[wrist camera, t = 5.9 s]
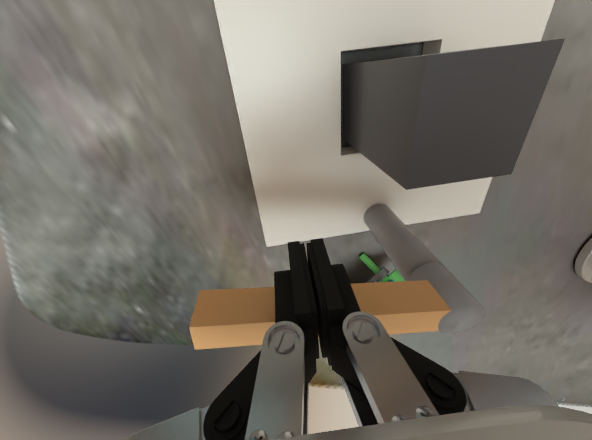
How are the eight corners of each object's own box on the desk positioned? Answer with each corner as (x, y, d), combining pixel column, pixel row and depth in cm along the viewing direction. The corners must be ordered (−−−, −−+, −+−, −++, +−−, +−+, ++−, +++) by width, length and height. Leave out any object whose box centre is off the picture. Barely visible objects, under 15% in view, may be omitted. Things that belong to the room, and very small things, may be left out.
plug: (412, 56, 17) (564, 38, 8) (402, 130, 19) (511, 174, 11) (342, 64, 17) (426, 55, 8) (342, 138, 19) (406, 189, 11)
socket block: (552, -83, 14) (918, -280, 6) (464, 203, 24) (561, 265, 16) (207, -51, 13) (126, -236, 5) (266, 234, 23) (268, 316, 15)
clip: (202, 269, 12) (187, 321, 10) (451, 261, 14) (493, 302, 12) (208, 301, 14) (196, 354, 11) (437, 290, 15) (471, 332, 13)
